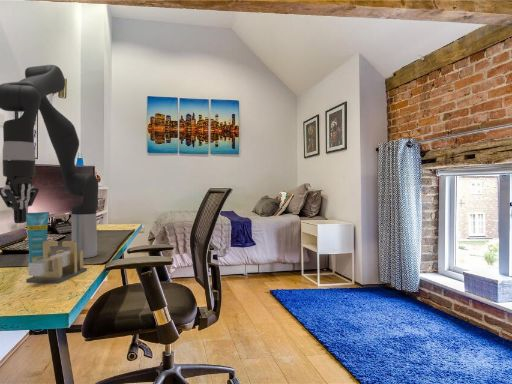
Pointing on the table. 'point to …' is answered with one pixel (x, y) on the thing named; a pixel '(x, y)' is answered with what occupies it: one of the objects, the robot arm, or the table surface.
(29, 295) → the table surface
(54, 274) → the tan bracket pieces
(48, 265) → the rod
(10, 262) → the table surface
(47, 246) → the bridge
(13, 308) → the table surface
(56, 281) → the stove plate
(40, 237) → the tube
